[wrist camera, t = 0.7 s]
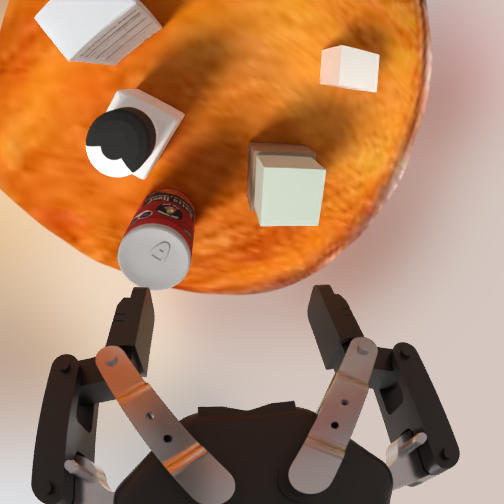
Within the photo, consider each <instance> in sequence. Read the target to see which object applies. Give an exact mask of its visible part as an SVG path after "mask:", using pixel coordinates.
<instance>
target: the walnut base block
mask: <svg viewBox="0 0 504 504" xmlns="http://www.w3.org/2000/svg"><path fill="white" fill-rule="evenodd" d="M257 155H281V156H302V157H311V158H313V159H314V160H315V161H316V157H317V153H315V152H314V151H313V150H311V149H310V148H308V147H307V146H306V145H301V144H285V143H260V142H249V152H248V175H247V198H248V202H249V205H250V209H251V210H255V207H254V200H255V180H256V159H257Z"/></svg>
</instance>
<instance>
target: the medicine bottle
mask: <svg viewBox="0 0 504 504" xmlns="http://www.w3.org/2000/svg"><path fill="white" fill-rule="evenodd" d="M184 116H185V115H184V113H183V112H181V111H179V110H177V109H175V108H174V107H172V106H170V105H168V104H166V103H164V102H162V101H161V100H159V99H157V98H155V97H153V96H151V95H149V94H147V93H145V92H143V91H141V90H139V89H123V90H118V91H117V92H116V94H115V96H114V98H113V100H112V102H111V103H110V105H109V107H108V109H107V111H106V113H104V114H102V115H101V116H99V117H98V118H97V119H96V120H95V121H94V122H93V123H92V125H91V127H90V129H89V131H88V134H87V138H86V151H87V155H88V157H89V160H90V161H91V163H92V164H93V166H94V167H95V168H96V169H97V170H98V171H100V172H101V173H103V174H105V175H107V176H111V177H124V176H127V175H130V174H133V175H135V176H137V177H139V178H141V179H145V178H146V177H147V176H148V174H149V173H150V171H151V170H152V169H153V167H154V166H155V164H156V163H157V162H158V160H159V158H160V156H161V154H162V153H163V151H164V149H165V148H166V146H167V144H168V142H169V141H170V139H171V137H172V136H173V134H174V132H175V131H176V129H177V127H178V126H179V124H180V123H181V121H182V119H183V118H184Z"/></svg>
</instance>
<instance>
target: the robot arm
mask: <svg viewBox="0 0 504 504" xmlns="http://www.w3.org/2000/svg"><path fill="white" fill-rule="evenodd" d="M308 319H309V322H310V325H311V328H312V330H313V333H314V336H315V339H316V342H317V345H318V348H319V350H320V353H321V356H322V359H323V362H324V365H325V368H326V369H327V370H328V369H334V371H335V375H334V376H333V379H332V381H331V383H330V385H329V387H328V389H327V391H326V393H325V396H324V398H323V400H322V402H321V404H320V405H319V407H318V409H317V411H316V413H314V412H312V411H310V410H307V409H304V408H300V407H296V406H295V402H294V401H289V402H280V403H271V404H268V405H265V406H262V407H259V408H256V409H253V410H249V411H245V410H238V409H233V408H227V407H198V413H196V414H192V415H190V416H187V417H185V418H183V419H182V420H180V421H178V420H177V418H176V417H175V416H174V415H173V414H172V412H171V411H170V410H169V409H168V407H167V406H166V405H165V404H164V402H163V401H162V400H161V399H160V397H159V396H158V395H157V394H156V392H155V391H154V390H153V388H152V387H151V386H150V385H149V384H148V383H146V382H145V381H144V380H143V379H142V377H146V376H147V369H148V361H149V354H150V347H151V340H152V333H153V327H154V308H153V303H152V298H151V293H150V289H149V287H134V288H133V291H132V294H131V297H130V298H123V299H122V300H121V302H120V303H119V304H118V305H117V308H116V312H115V315H114V318H113V322H112V325H111V329H110V332H109V336H108V339H107V343H106V346H105V347H104V348H103V349H101V350H100V351H99V352H98V353H97V355H96V357H93V358H90V359H85V360H80V361H78V360H77V359H76V358H75V357H74V356H72V355H68V354H65V355H61V356H59V357H57V358H56V359H55V360H54V362H53V364H52V367H51V370H50V374H49V378H48V382H47V386H46V390H45V394H44V399H43V403H42V408H41V414H40V418H39V424H38V430H37V436H36V443H35V450H34V459H33V469H32V482H31V486H32V490H33V492H34V494H35V496H36V497H37V498H38V499H39V500H40V501H41V502H43V503H45V504H390V498H391V494H392V490H395V489H398V488H401V487H403V486H406V485H407V486H411V487H413V486H416V485H418V484H421V483H423V482H425V481H427V480H429V479H431V478H433V477H435V476H436V475H439V474H440V473H442V472H444V471H446V470H448V469H450V468H451V467H453V466H454V465H455V464H456V463H457V461H458V459H459V455H460V453H459V447H458V445H457V442H456V439H455V437H454V434H453V432H452V429H451V426H450V424H449V421H448V419H447V416H446V414H445V411H444V409H443V407H442V405H441V402H440V400H439V397H438V395H437V393H436V391H435V388H434V386H433V384H432V382H431V380H430V378H429V375H428V373H427V371H426V369H425V367H424V365H423V363H422V361H421V359H420V357H419V355H418V353H417V351H416V349H415V348H414V347H413V346H412V345H410V344H408V343H404V342H402V343H398V344H396V345H395V346H394V348H393V349H387V348H380V347H377V346H376V344H375V343H374V342H373V341H372V340H370V339H368V338H366V337H364V335H363V333H362V331H361V329H360V327H359V325H358V323H357V321H356V319H355V317H354V316H353V314H352V312H351V310H350V307H349V305H348V303H347V302H346V300H345V299H344V298H343V297H342V296H340V295H339V294H334V292H333V290H332V288H331V286H330V285H315V286H314V287H313V290H312V294H311V298H310V302H309V305H308ZM369 388H372V389H374V392H375V395H376V398H377V401H378V404H379V407H380V411H381V413H382V417H383V420H384V423H385V426H386V429H387V432H388V436H389V439H390V442H391V444H390V445H389V447H388V449H387V452H386V457H387V458H386V461H387V462H386V464H385V463H384V462H383V461H382V460H380V459H379V458H377V457H376V456H374V455H373V454H371V453H370V452H368V451H367V450H366V449H364V448H363V447H361V446H360V445H358V444H357V443H356V442H354V441H353V440H351V439H350V437H351V435H352V433H353V430H354V428H355V425H356V423H357V420H358V418H359V415H360V412H361V409H362V407H363V404H364V401H365V399H366V396H367V393H368V390H369ZM115 399H116V400H117V401H118V403H119V405H120V406H121V408H122V409H123V411H124V412H125V414H126V415H127V417H128V418H129V420H130V421H131V423H132V424H133V425H134V427H135V429H136V430H137V431H138V432H139V434H140V435H141V437H142V438H143V440H144V441H145V442H146V444H147V445H148V446H149V448H150V449H151V450H152V451H151V452H150V453H149V454H148V455H147V456H146V457H145V458H144V459H143V460H142V461H141V462H140V464H139V465H138V466H137V467H136V468H135V469H134V470H133V471H132V472H131V473H130V474H129V475H128V476H127V477H126V478H125V479H124V480H123V481H122V483H121V484H120V485H119V486H118V487H117V489H116V491H115V492H113V491H112V490H111V489H110V488H109V486H108V484H107V480H106V476H105V473H104V472H103V470H102V469H101V468H100V467H99V466H97V465H96V464H94V457H95V439H96V427H97V416H98V407H99V403H100V402H105V401H110V400H115Z"/></svg>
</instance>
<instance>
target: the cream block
mask: <svg viewBox="0 0 504 504" xmlns="http://www.w3.org/2000/svg"><path fill="white" fill-rule="evenodd" d="M378 69H379V55H378V54H375V53H371V52H368V51H364V50H360V49H356V48H352V47H348V46H344V45H340V46H336V47H332V48H328V49H324V50H322V59H321V73H320V84H324V85H330V86H336V87H342V88H347V89H352V90H360V91H369V92H376V91H377V81H378Z"/></svg>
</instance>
